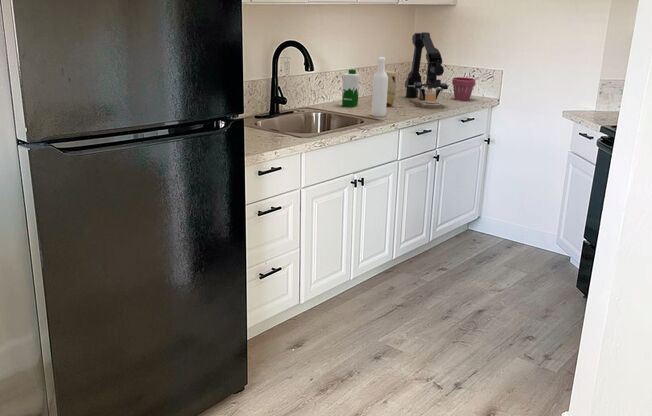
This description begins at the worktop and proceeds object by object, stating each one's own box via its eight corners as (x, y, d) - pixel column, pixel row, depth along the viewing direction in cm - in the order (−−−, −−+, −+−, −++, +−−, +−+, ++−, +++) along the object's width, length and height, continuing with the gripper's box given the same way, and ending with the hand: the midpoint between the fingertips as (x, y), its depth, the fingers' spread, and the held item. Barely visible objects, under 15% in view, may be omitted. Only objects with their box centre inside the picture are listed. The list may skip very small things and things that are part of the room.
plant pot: (475, 101, 383) (477, 80, 379) (452, 101, 383) (454, 79, 379) (471, 98, 397) (473, 77, 393) (448, 97, 397) (450, 76, 393)
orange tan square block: (425, 101, 360) (425, 94, 359) (423, 99, 366) (424, 92, 365) (435, 101, 360) (436, 94, 359) (434, 100, 366) (434, 93, 364)
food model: (376, 105, 362) (378, 70, 355) (381, 103, 367) (383, 69, 360) (391, 107, 357) (393, 71, 350) (396, 105, 362) (399, 70, 356)
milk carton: (359, 105, 360) (361, 70, 354) (354, 107, 352) (356, 71, 346) (345, 104, 363) (346, 68, 356) (339, 106, 355) (341, 70, 348)
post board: (408, 100, 379) (409, 88, 377) (427, 100, 382) (428, 88, 379) (423, 108, 357) (424, 94, 355) (443, 107, 360) (444, 94, 357)
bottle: (371, 116, 329) (374, 58, 319) (370, 113, 336) (373, 56, 327) (386, 117, 329) (390, 58, 319) (385, 114, 337) (388, 57, 327)
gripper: (417, 74, 350) (415, 102, 356) (450, 75, 350) (448, 103, 355) (415, 72, 361) (413, 99, 366) (447, 73, 361) (445, 100, 366)
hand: (429, 100), depth 363 cm, fingers closed on orange tan square block, 6 cm apart
